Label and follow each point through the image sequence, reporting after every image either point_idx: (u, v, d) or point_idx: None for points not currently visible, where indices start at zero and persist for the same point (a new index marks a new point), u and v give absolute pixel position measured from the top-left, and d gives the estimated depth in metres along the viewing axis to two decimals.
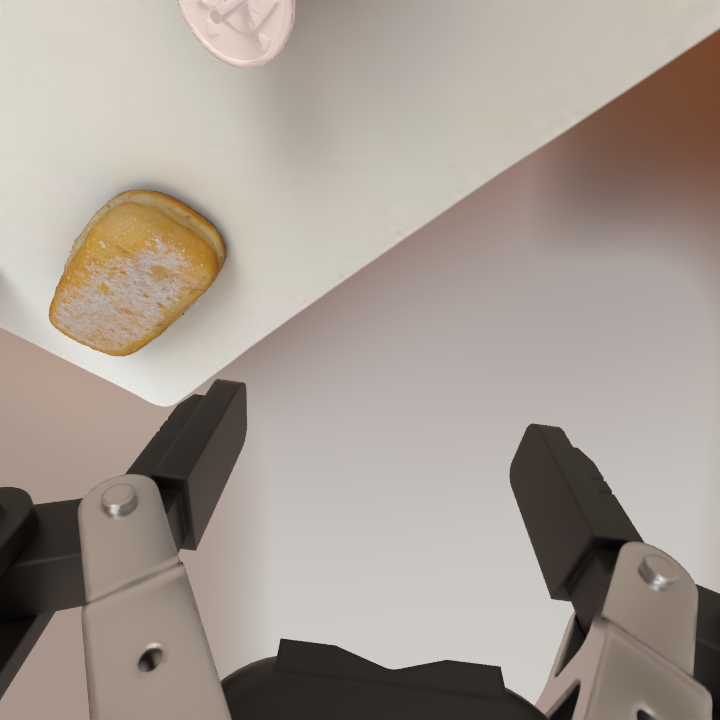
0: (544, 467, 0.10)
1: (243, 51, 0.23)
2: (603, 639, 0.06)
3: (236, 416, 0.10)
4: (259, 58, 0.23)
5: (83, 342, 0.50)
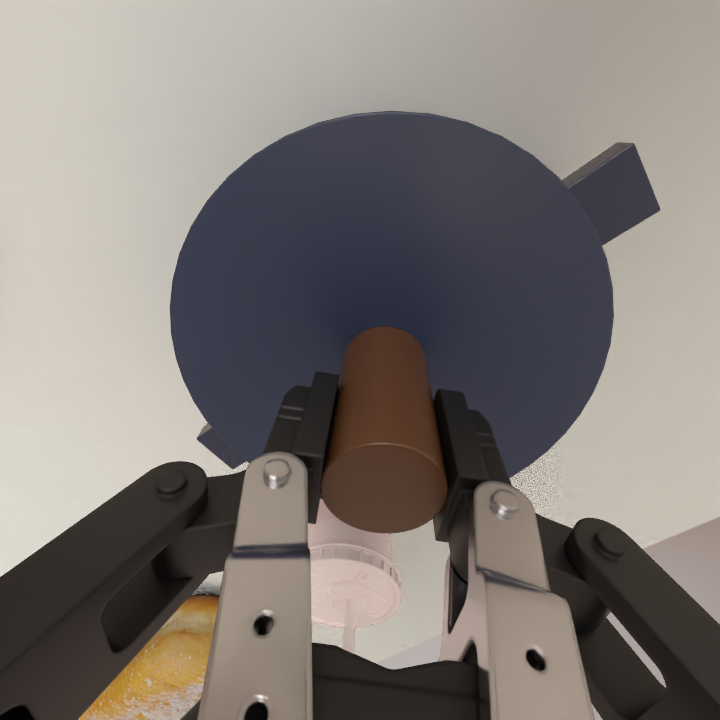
0: (441, 425, 0.11)
1: (344, 616, 0.22)
2: (484, 595, 0.06)
3: (334, 405, 0.11)
4: (361, 623, 0.22)
5: None
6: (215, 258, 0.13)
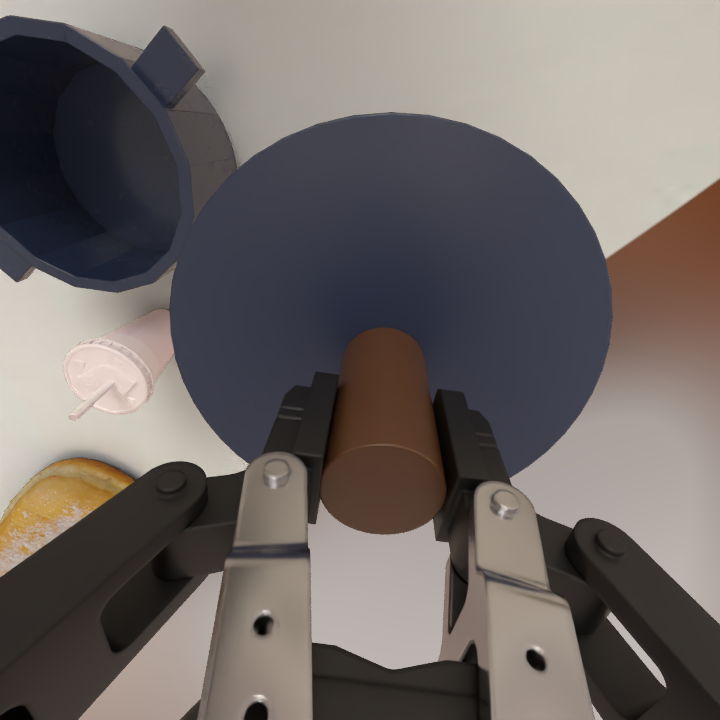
0: (441, 425, 0.11)
1: (118, 405, 0.31)
2: (484, 595, 0.06)
3: (334, 405, 0.11)
4: (129, 409, 0.31)
5: None
6: (214, 259, 0.13)
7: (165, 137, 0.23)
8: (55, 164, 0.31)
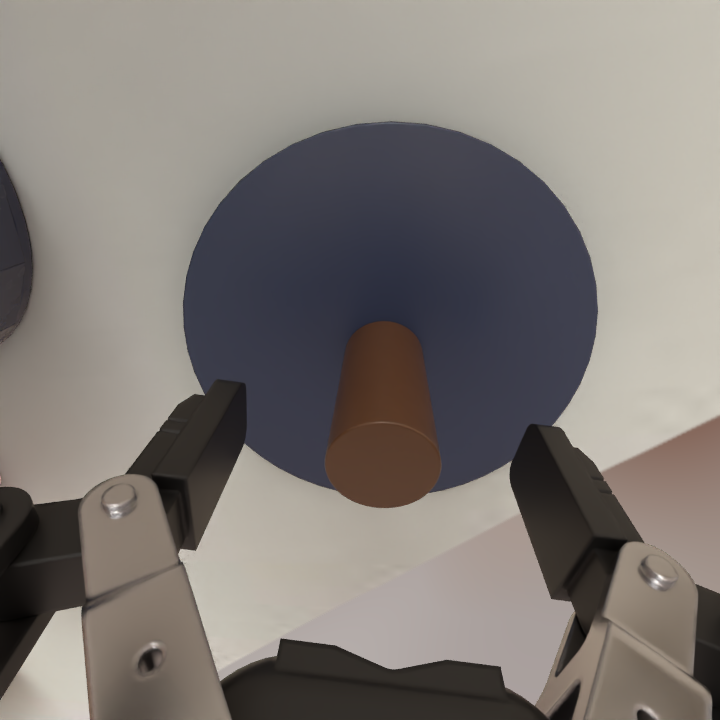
0: (544, 467, 0.10)
1: None
2: (603, 639, 0.06)
3: (236, 416, 0.10)
4: None
5: None
6: (226, 256, 0.14)
7: None
8: None
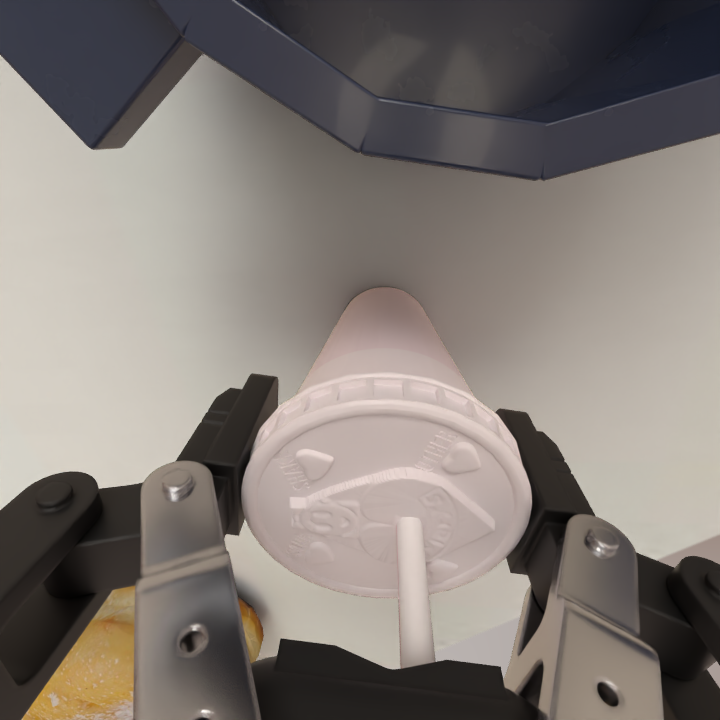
0: None
1: (384, 573, 0.10)
2: (560, 617, 0.06)
3: (270, 409, 0.11)
4: None
5: None
6: None
7: None
8: None
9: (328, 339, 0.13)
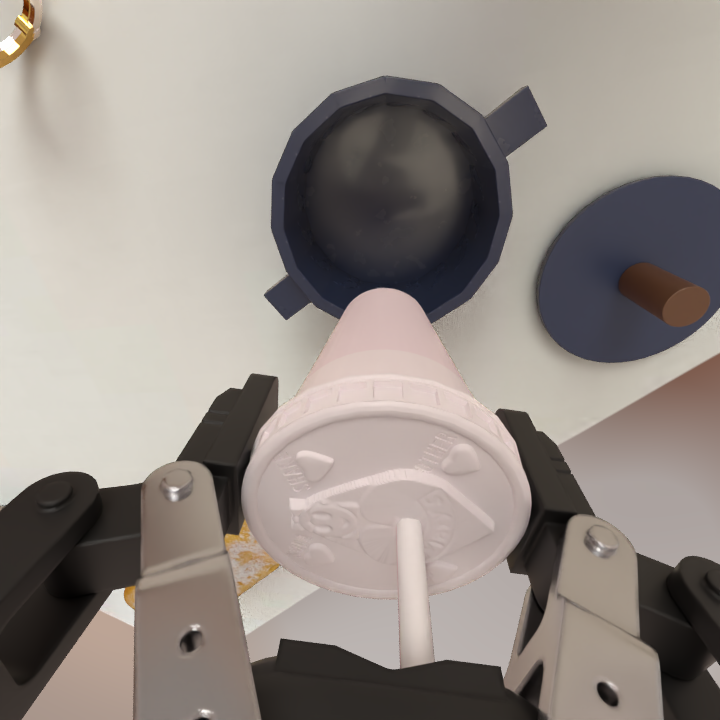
0: None
1: (384, 574, 0.10)
2: (560, 617, 0.06)
3: (270, 409, 0.11)
4: None
5: None
6: (580, 232, 0.31)
7: (499, 189, 0.23)
8: (304, 202, 0.31)
9: (328, 340, 0.13)
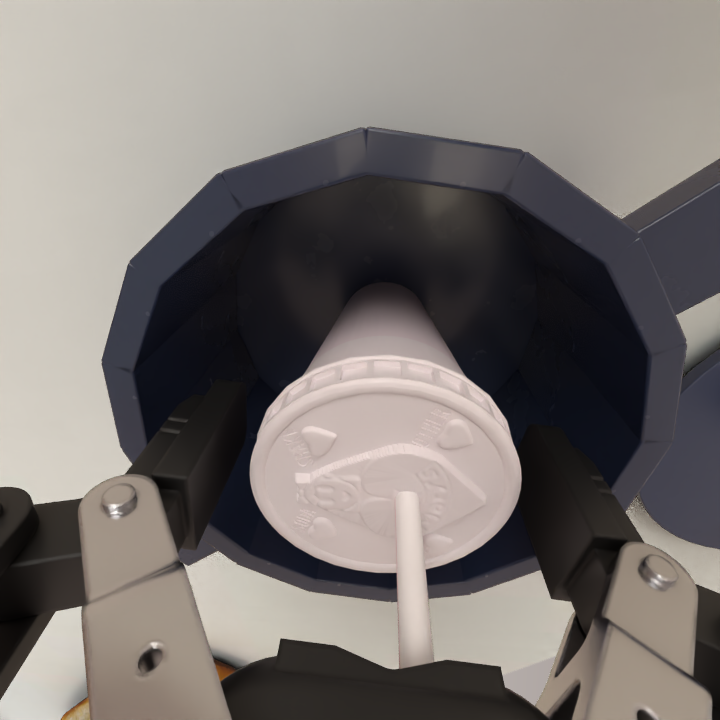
0: (544, 467, 0.10)
1: (384, 549, 0.11)
2: (603, 639, 0.06)
3: (236, 416, 0.10)
4: None
5: None
6: None
7: (651, 393, 0.09)
8: (234, 321, 0.18)
9: (330, 330, 0.14)
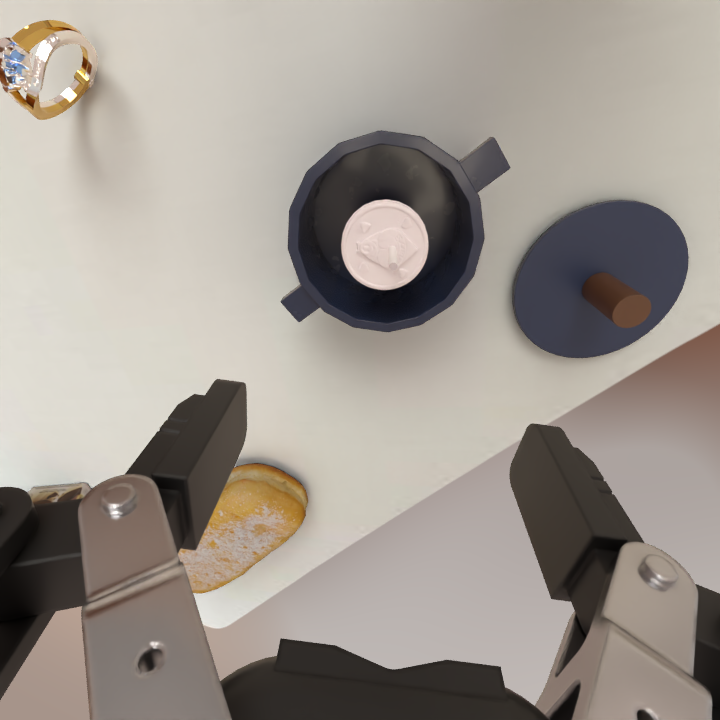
0: (544, 467, 0.10)
1: (385, 279, 0.30)
2: (603, 639, 0.06)
3: (236, 416, 0.10)
4: (397, 283, 0.30)
5: None
6: (548, 247, 0.37)
7: (472, 217, 0.29)
8: (313, 221, 0.37)
9: None
